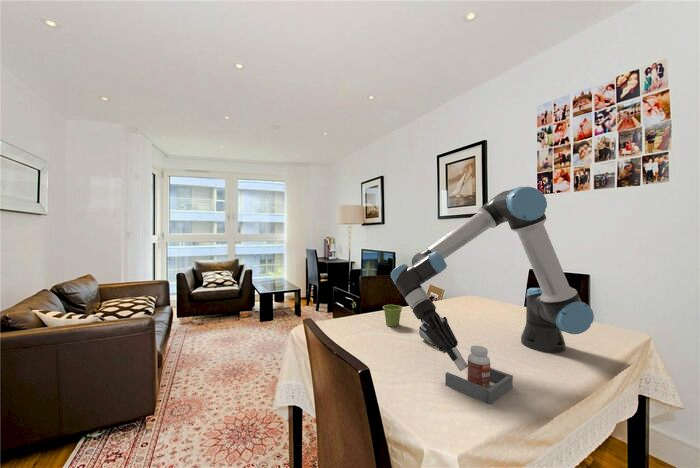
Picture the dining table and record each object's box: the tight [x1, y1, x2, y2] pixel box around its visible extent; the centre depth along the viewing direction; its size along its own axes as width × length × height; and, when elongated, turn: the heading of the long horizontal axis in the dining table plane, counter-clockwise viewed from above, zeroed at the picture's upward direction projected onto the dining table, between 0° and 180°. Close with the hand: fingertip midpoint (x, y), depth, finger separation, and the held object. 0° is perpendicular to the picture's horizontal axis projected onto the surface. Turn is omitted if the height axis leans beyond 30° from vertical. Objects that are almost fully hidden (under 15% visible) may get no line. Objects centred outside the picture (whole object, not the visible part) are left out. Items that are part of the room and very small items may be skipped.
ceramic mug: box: [418, 328, 436, 346], centre depth 127 cm, size 11×8×8 cm
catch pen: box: [444, 367, 514, 405], centre depth 91 cm, size 14×14×4 cm
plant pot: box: [382, 304, 403, 327], centre depth 149 cm, size 9×9×9 cm
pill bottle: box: [466, 345, 491, 389], centre depth 92 cm, size 6×6×11 cm
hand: (464, 368), depth 95 cm, fingers closed
